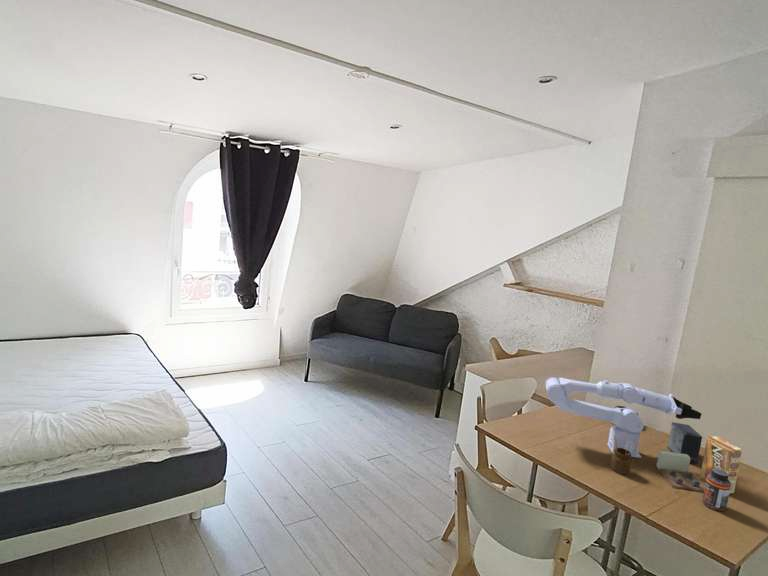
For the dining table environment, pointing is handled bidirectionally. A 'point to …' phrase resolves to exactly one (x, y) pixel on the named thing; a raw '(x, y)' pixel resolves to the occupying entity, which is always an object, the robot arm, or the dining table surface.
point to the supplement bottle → (717, 490)
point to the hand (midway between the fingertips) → (695, 412)
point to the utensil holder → (621, 460)
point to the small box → (685, 441)
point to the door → (673, 461)
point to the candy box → (721, 459)
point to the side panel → (683, 480)
